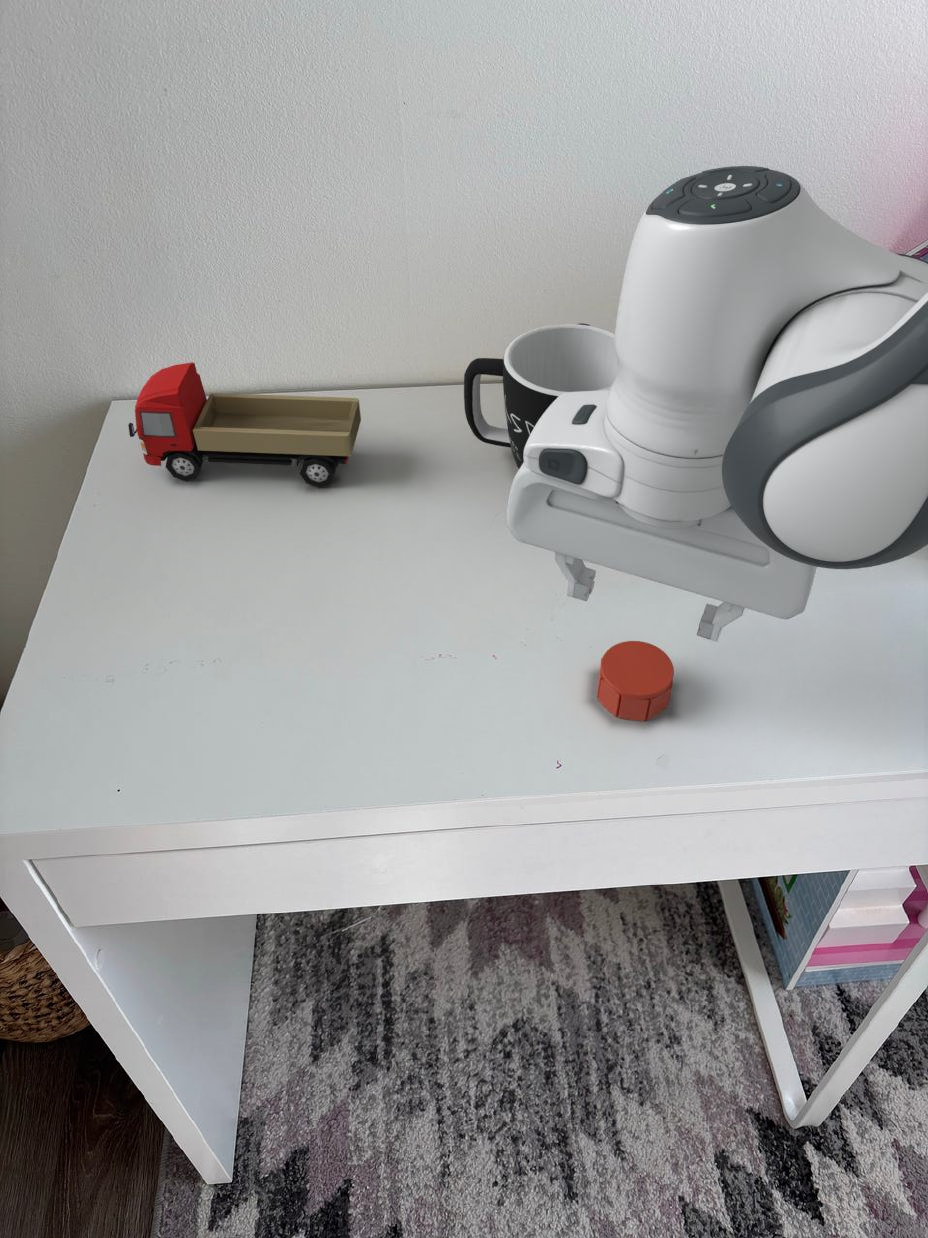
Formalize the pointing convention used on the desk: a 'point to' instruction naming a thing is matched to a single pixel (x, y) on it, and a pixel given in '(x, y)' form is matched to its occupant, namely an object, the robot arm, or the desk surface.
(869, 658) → the desk surface
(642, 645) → the cap
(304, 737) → the desk surface
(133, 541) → the desk surface
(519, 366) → the mug
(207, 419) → the toy truck
